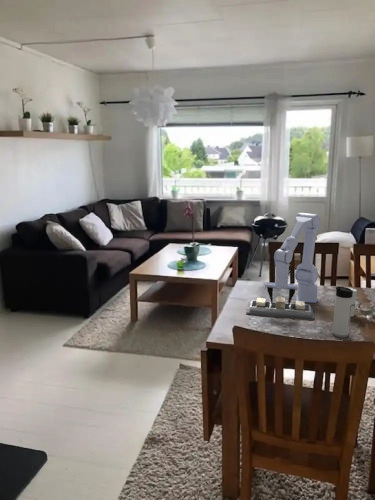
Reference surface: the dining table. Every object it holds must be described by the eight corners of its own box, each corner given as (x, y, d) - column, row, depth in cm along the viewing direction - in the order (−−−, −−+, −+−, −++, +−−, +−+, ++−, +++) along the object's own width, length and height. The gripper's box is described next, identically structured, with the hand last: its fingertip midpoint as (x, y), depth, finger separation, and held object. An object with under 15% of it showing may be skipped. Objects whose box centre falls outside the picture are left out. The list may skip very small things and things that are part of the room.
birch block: (284, 307, 194) (284, 297, 193) (284, 312, 188) (285, 302, 187) (275, 307, 195) (276, 297, 194) (275, 311, 189) (276, 301, 188)
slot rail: (312, 309, 194) (313, 299, 193) (314, 320, 182) (315, 309, 181) (248, 304, 201) (248, 294, 200) (246, 314, 189) (246, 303, 187)
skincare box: (340, 315, 188) (342, 290, 185) (339, 311, 192) (341, 287, 189) (354, 317, 186) (357, 291, 183) (353, 313, 190) (356, 288, 187)
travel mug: (328, 331, 170) (332, 285, 166) (344, 331, 171) (348, 284, 166) (335, 338, 164) (339, 290, 160) (351, 337, 165) (356, 289, 160)
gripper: (265, 277, 185) (263, 305, 188) (298, 279, 182) (296, 308, 185) (265, 272, 192) (264, 300, 195) (298, 274, 189) (296, 302, 192)
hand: (280, 303), depth 191 cm, fingers open, 7 cm apart
